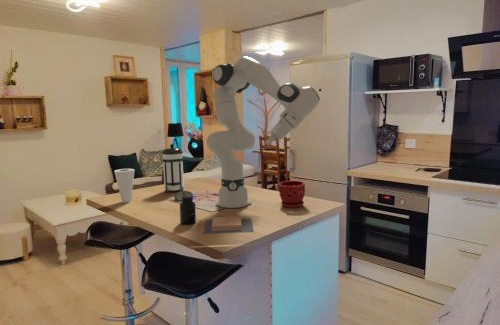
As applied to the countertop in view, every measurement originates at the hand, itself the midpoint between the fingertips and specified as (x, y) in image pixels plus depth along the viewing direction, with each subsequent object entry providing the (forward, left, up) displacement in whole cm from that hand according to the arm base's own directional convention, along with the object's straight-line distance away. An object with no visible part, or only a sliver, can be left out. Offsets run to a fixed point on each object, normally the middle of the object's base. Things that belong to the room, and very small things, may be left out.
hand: (266, 143), depth 146 cm
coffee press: (-68, -52, -35) cm, 93 cm away
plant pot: (-24, +15, -35) cm, 45 cm away
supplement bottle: (-2, -35, -35) cm, 50 cm away
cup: (-45, -75, -35) cm, 94 cm away
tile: (+6, -12, -33) cm, 35 cm away
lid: (-46, -44, -35) cm, 72 cm away
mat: (+6, -17, -34) cm, 39 cm away
